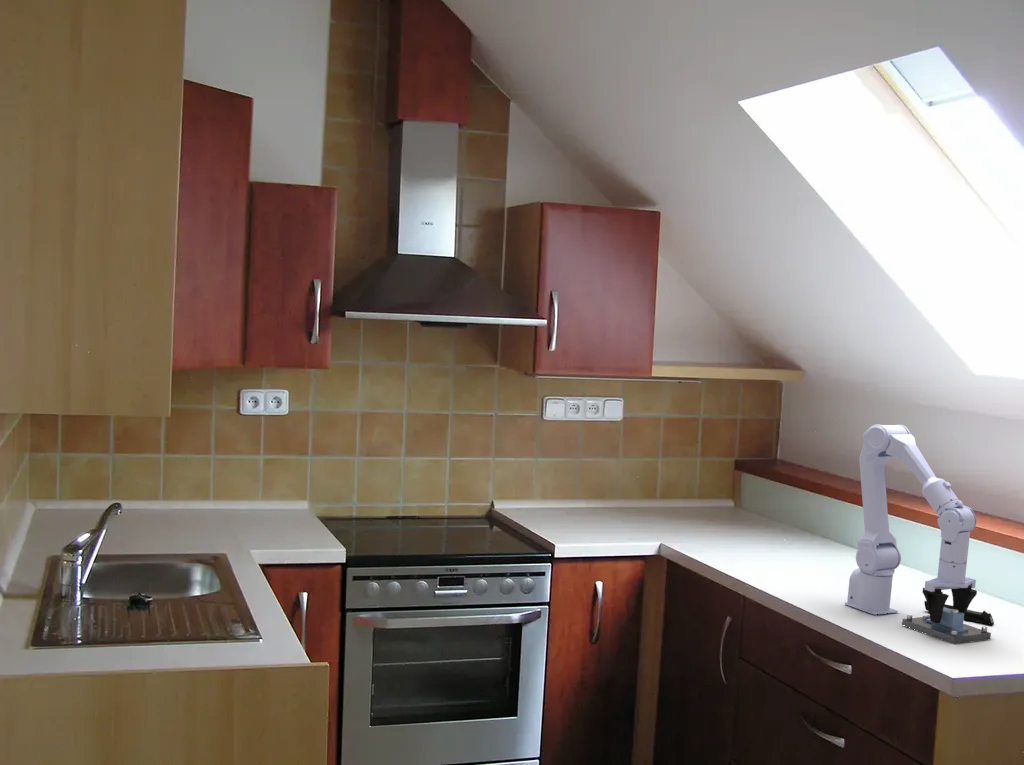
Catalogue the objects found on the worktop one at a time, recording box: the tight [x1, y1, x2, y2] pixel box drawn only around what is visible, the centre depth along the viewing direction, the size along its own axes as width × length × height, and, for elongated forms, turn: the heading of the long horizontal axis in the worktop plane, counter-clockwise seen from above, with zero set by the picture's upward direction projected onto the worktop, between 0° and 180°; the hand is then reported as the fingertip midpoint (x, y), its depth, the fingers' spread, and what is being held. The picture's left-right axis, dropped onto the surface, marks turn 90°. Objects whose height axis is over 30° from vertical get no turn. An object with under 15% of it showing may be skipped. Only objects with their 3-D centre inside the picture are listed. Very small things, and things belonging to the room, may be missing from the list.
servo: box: [926, 607, 969, 632], centre depth 248 cm, size 8×4×6 cm, turn 30°
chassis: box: [901, 614, 992, 645], centre depth 248 cm, size 14×12×2 cm
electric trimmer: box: [923, 600, 995, 627], centre depth 262 cm, size 4×16×3 cm, turn 58°
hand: (946, 620), depth 248 cm, fingers open, 7 cm apart
